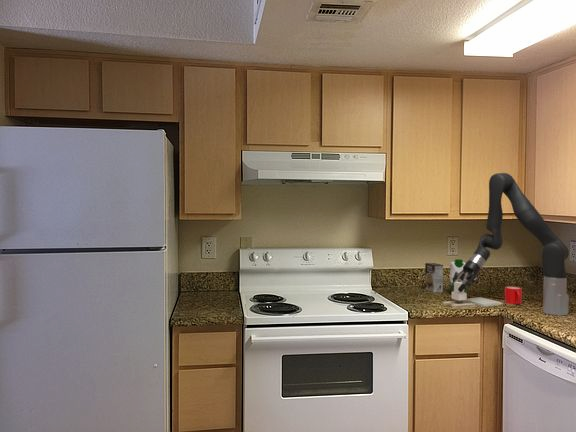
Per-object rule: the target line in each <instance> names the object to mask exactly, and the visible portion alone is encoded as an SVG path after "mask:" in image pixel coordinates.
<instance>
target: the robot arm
mask: <svg viewBox="0 0 576 432" xmlns="http://www.w3.org/2000/svg"><path fill="white" fill-rule="evenodd" d="M503 194H504V195H505V196H506V197H507V199H508V200H509V202H510V205H511V207H512V210H513V213H514V216H515V217H516V219H517V220H518V222H519V224H521V225H522V226H523V227H524V228H525V229H526V230H527V231H528V232H529V233H531V234H532V236H534V237H535V238H537V240H538V241H539V242H540V244H541V245H542V247H543V248H542V251H541V269H542V272H543V286H542V287H543V290H542V292H543V294H542V297H543V298H542V299H543V302H542V304H543V305H542V313H544V314H545V315H546V314H547V315H552V316H558V317H562V316H567V315H569V293H567V282H568V281H567V278H568V277H567V273H568V272H567V271H566V268H565V266H566V264H565V260H567V259H568V257H569V255H570V251H569V248H568V246H567V245H566V244H565V243H564V242H563V241H562V240H561V239H560V238H559V237H558V236H557V235H556V234H555V233H554V232H553V230H552V229H551V228H550V226H549V225H548V223H547V222H546V221H545V219H544V217H543V216H542V215H541V213H540V212H539V211H538V210H537V209H536V207H535V206H534V205H533V203H531V201H530V200H529V199H528V197H526V195H525V194H524V193H523V191H522V189H520V187H519V184H518V183H517V182H516V180H515V179H514V177H513V175H511V174H509V173H506V172H501V173H500V172H499V173H494V174H492V175H491V176H490V178H489V180H488V213H487V221H486V224H485V225H486V226H485V228H486V229H487V230H488V231H489V232H491V233H492V234H490V233H484V234H483V235H481V236H480V239H479V241H478V245H477V248H476V249H475V251H474V252H473V254H472V255H471V256H470V257H469V258H468V260H466V262H465V263H466V264H465V265H464V266H463V270H462V271H461V272H460V273H457V272H455V275H454V277H453V281H454V282H458V280H459V282H463V284H461V286H460V287H459V288H458V290H459V292H462V291H463V290H464V288H465V287H466V288H467V287H469V288H471V286H473V285H474V283H476V282H477V281H478V280H479V278H478V277H477V275H478V274H479V272H480V271H481V270H482V268H483V267H484V266H485V264H486V262H487V260H489V258H490V257H491V252H490V250H489V249H491V250H494V251H495V250H496V251H497V250H500V249H501V248H502V245H503V235H502V224H503V217H504V215H503V214H504V213H503V208H502V207H503V206H502V198H503ZM460 278H461V279H462V280H461V279H460ZM451 288H452V290H454V284H453V285H452V287H451Z"/></svg>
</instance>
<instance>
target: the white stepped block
mask: <svg viewBox="0 0 576 432" xmlns="http://www.w3.org/2000/svg"><path fill="white" fill-rule="evenodd" d="M461 284H463V283H462V282H454V292H452V293H451V299H452V300H454V301H455V300H458V301H460V300H467V299H468V297H467V295H468V294H467V292H466V293H465V292H464V290H463V291H462V292H459V290H458V288H459V287H460V286H461ZM455 292H456V293H455Z"/></svg>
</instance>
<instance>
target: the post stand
mask: <svg viewBox="0 0 576 432" xmlns="http://www.w3.org/2000/svg"><path fill="white" fill-rule="evenodd" d="M455 293H456V292H455ZM442 305H444V306H448V307H450V308H454V309H458V310H460V309H461V310H462V309H470V308H475V307H477V306H476V305H477V304H473V303H469V302H465V301H463V300H460V301H458V300H455V299H454V300H450V301H449V300H448V301H442Z"/></svg>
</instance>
